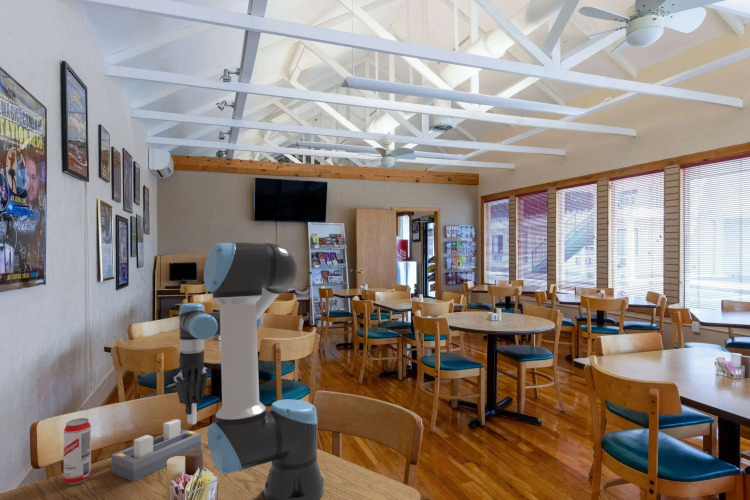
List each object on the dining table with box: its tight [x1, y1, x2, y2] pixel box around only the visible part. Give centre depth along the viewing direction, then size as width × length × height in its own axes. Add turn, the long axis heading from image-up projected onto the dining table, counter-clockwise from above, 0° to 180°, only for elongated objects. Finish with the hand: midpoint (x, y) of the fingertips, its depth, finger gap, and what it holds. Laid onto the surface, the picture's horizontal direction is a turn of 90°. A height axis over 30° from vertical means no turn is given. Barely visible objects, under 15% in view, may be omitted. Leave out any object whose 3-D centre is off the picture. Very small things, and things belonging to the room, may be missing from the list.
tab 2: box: [162, 418, 182, 441], centre depth 139 cm, size 3×4×6 cm
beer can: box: [63, 417, 92, 486], centre depth 121 cm, size 6×6×16 cm
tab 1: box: [133, 434, 154, 459], centre depth 126 cm, size 3×4×6 cm
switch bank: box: [110, 427, 202, 482], centre depth 133 cm, size 10×22×5 cm, turn 151°
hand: (191, 422), depth 145 cm, fingers closed
